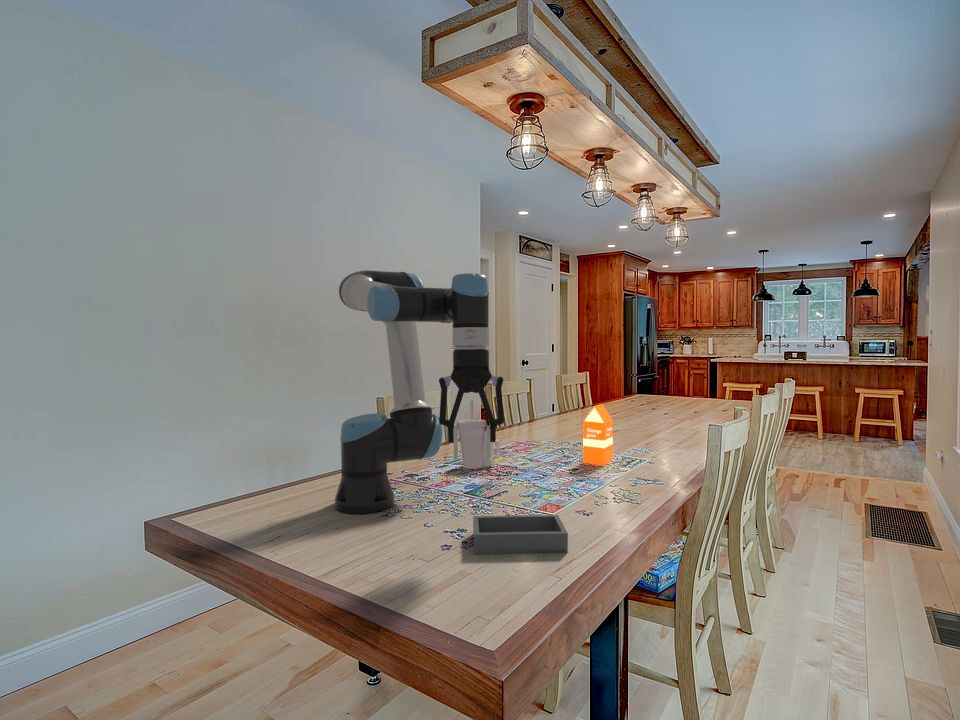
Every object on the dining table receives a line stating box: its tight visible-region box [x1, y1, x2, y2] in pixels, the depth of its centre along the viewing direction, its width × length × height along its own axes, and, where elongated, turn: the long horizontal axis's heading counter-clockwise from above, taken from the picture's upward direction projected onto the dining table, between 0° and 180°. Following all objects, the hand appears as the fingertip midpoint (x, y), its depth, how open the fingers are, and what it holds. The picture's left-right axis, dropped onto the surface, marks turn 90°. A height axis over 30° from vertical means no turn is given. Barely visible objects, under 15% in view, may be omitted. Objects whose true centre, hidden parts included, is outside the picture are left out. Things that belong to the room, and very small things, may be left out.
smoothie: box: [456, 400, 488, 470], centre depth 111 cm, size 6×6×14 cm
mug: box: [480, 430, 501, 469], centre depth 178 cm, size 12×9×11 cm
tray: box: [472, 514, 569, 555], centre depth 113 cm, size 11×19×4 cm, turn 92°
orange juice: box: [582, 403, 614, 467], centre depth 184 cm, size 8×9×20 cm
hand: (472, 457), depth 111 cm, fingers closed on smoothie, 6 cm apart
